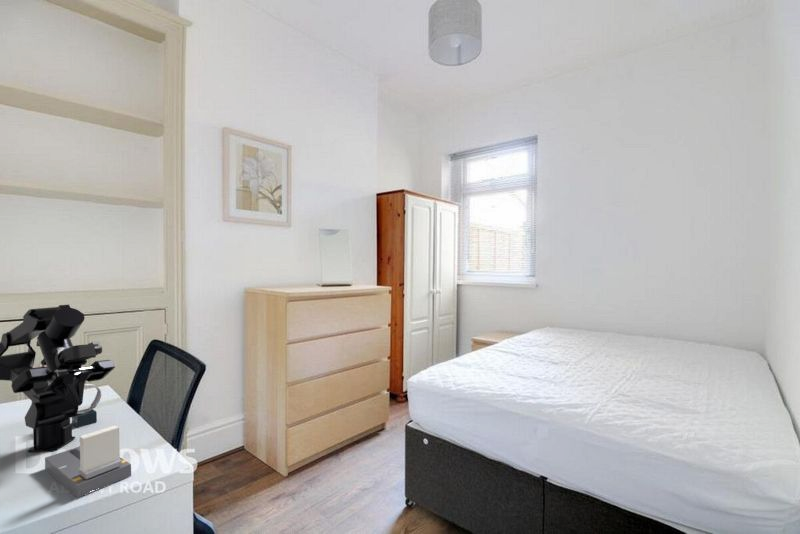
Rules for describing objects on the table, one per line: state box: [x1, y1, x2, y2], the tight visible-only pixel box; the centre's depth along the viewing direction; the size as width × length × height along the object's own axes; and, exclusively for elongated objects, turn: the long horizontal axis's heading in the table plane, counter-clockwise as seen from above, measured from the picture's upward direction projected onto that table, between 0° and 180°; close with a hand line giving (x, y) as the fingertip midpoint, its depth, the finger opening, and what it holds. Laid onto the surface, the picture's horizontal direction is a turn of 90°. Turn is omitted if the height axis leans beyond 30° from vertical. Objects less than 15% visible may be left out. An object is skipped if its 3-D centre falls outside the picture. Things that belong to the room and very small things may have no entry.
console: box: [44, 445, 132, 499], centre depth 81 cm, size 20×9×3 cm, turn 57°
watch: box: [71, 383, 103, 429], centre depth 107 cm, size 6×8×11 cm
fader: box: [79, 425, 122, 479], centre depth 77 cm, size 4×6×8 cm, turn 147°
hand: (79, 404), depth 88 cm, fingers closed
